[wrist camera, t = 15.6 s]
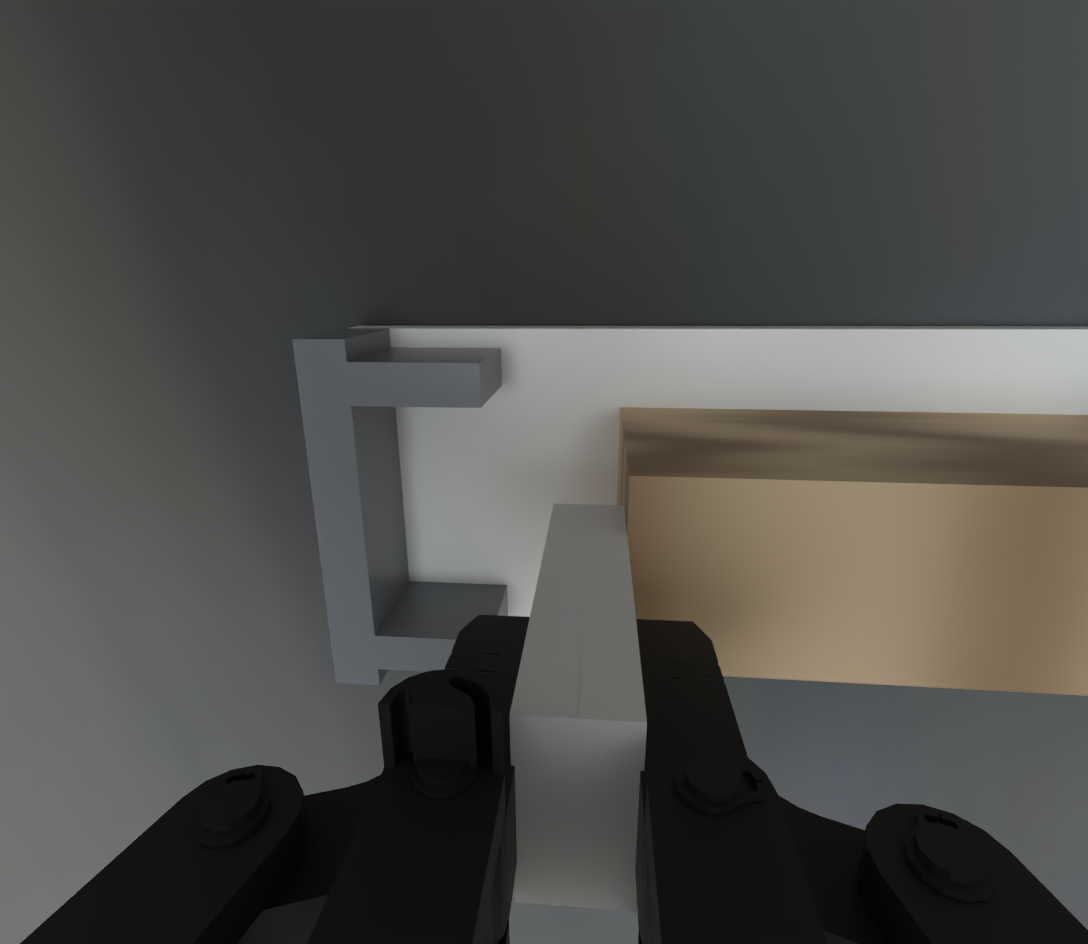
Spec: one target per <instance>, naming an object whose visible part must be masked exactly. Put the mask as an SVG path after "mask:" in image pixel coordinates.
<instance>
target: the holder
mask: <svg viewBox="0 0 1088 944" xmlns="http://www.w3.org/2000/svg"><path fill="white" fill-rule="evenodd" d="M292 342H293V349H294V357H295V365H296V373H297V381H298V389H299V397H300V405H301V412H302V420H303V428H304V436H305V444H306V452H307V460H308V468H309V475H310V483H311V491H312V499H313V507H314V515H315V523H316V530H317V538H318V546H319V554H320V562H321V570H322V578H323V586H324V593H325V601H326V609H327V617H328V625H329V633H330V641H331V649H332V656H333V664H334V672H335V680H336V683H345V684H364V685H380V684H381V682H382V680H383V678H384V676H385V675H386V673H387V671H388V670H404V671H424V672H428V671H431V670H444V669H445V666H446V664H447V661H448V659H449V656H450V655H451V651H452V649H453V646H454V644H455V641H456V639H457V636H458V634H459V631H460V630H461V629H463V628H464V627H465V626H466V625H467V624H468V623H469V622H471V621H472V620H473V619H474V618H475V617H476V616H478V615H500V616H523V617H530V614H531V609H532V604H533V600H534V595H535V590H536V585H537V581H538V576H539V571H540V566H541V561H542V557H543V552H544V547H545V542H546V537H547V533H548V528H549V523H550V518H551V513H552V509H553V504H554V503H556V504H593V505H617V482H618V455H619V427H620V407H639V408H700V409H761V410H822V411H882V412H943V413H1004V414H1065V415H1088V326H355V327H350V328H345V329H340V330H335V331H330V332H325V333H320V334H315V335H310V336H305V337H300V338H295V339H292Z"/></svg>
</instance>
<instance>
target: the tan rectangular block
mask: <svg viewBox="0 0 1088 944" xmlns="http://www.w3.org/2000/svg"><path fill="white" fill-rule="evenodd" d="M617 505H624V509H625V519H626V530H627V537H628V547H629V556H630V566H631V575H632V585H633V594H634V604H635V613H636V619H648V620H672V621H693V622H694V623H695V624H696V625H697V626H698V627H699V628H700V629H701V630H702V631H703V632H704V633H705V634H706V635H707V636H708V637H709V638H710V639H711V640H712V643H713V646H714V649H715V653H716V656H717V659H718V666H720V669H721V672H722V675H723V676H730V677H749V678H768V679H787V680H806V681H824V682H843V683H862V684H881V685H899V686H918V687H937V688H956V689H975V690H993V691H1012V692H1031V693H1050V694H1068V695H1087V696H1088V415H1065V414H1004V413H943V412H882V411H822V410H761V409H700V408H639V407H620V427H619V455H618V482H617Z"/></svg>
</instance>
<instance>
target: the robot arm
mask: <svg viewBox="0 0 1088 944" xmlns="http://www.w3.org/2000/svg"><path fill="white" fill-rule="evenodd" d="M378 709H379V719H380V729H381V738H382V748H383V758H384V770H383V772H382V774H381V775H380V776H377V777H375V778H373V779H371V780H369V781H367V782H364V783H360V784H357V785H354V786H350V787H346V788H341V789H336V790H331V791H326V792H321V793H316V794H311V795H306V796H304V794H303V790H302V788H301V786H300V784H299V782H298V780H297V778H296V776H294V775H293V774H291V773H289V772H287V771H286V770H284V769H282V768H280V767H273V766H263V765H255V766H250V767H244V768H239V769H233V770H230V771H228V772H226V773H223V774H221V775H219V776H217V777H214V778H212V779H210V780H207V781H205V782H204V783H203V784H201V785H200V786H198V787H197V788H195V789H194V790H193V791H191V792H190V793H188V794H187V795H186V796H184V797H183V798H182V799H180V800H179V801H178V802H177V803H176V804H175V805H174V806H173V807H172V808H170V809H169V810H168V811H167V812H166V813H165V814H164V815H163V816H162V817H160V818H159V819H158V820H157V821H156V822H155V823H154V824H153V825H152V826H150V827H149V828H148V829H147V830H146V831H145V832H144V833H143V834H142V835H140V836H139V837H138V838H137V839H136V840H135V841H134V842H133V843H132V844H130V845H129V846H128V847H127V848H126V849H125V850H124V851H123V852H121V853H120V854H119V855H118V856H117V857H116V858H115V859H114V860H113V861H111V862H110V863H109V864H108V865H107V866H106V867H105V868H104V869H103V870H101V871H100V872H99V873H98V874H97V875H96V876H95V877H94V878H93V879H91V880H90V881H89V882H88V883H87V884H86V885H85V886H84V887H83V888H81V889H80V890H79V891H78V892H77V893H76V894H75V895H74V896H73V897H71V898H70V899H69V900H68V901H67V902H66V903H65V904H64V905H63V906H61V907H60V908H59V909H58V910H57V911H56V912H55V913H54V914H52V915H51V916H50V917H49V918H48V919H47V920H46V921H45V922H44V923H42V924H41V925H40V926H39V927H38V928H37V929H36V930H35V931H34V932H32V933H31V934H30V935H29V936H28V937H27V938H26V939H25V940H24V941H22V942H21V943H20V944H510V942H509V915H510V908H511V901H512V894H513V887H514V902H519V903H531V904H543V905H555V906H568V907H578V908H591V909H603V910H615V911H628V912H637V908H638V925H639V936H638V944H1088V930H1087V929H1086V928H1085V927H1084V926H1083V925H1082V924H1081V923H1080V922H1079V921H1078V920H1077V919H1076V918H1075V917H1074V916H1073V915H1072V914H1071V913H1070V912H1069V911H1068V910H1067V909H1066V908H1065V907H1064V906H1063V905H1062V904H1061V903H1060V902H1059V901H1058V900H1057V899H1056V897H1055V896H1054V895H1053V894H1052V893H1051V892H1050V891H1049V890H1048V889H1047V888H1046V887H1045V886H1044V885H1043V884H1042V883H1041V882H1040V881H1039V880H1038V879H1037V878H1036V877H1035V876H1034V875H1033V874H1032V873H1031V872H1030V871H1029V870H1028V869H1027V868H1026V867H1025V866H1024V865H1023V864H1022V863H1021V862H1020V861H1019V860H1018V859H1017V858H1016V857H1015V856H1014V855H1013V854H1012V853H1011V852H1010V851H1009V850H1007V849H1006V848H1005V847H1004V846H1003V845H1001V844H1000V843H999V842H998V841H996V840H995V839H994V838H993V837H992V836H990V835H989V834H988V833H987V832H985V831H984V830H983V829H981V828H979V827H977V826H975V825H973V824H971V823H970V822H968V821H966V820H964V819H962V818H960V817H958V816H956V815H955V814H953V813H949V812H946V811H942V810H939V809H936V808H932V807H929V806H926V805H918V804H895V805H892V806H889V807H886V808H884V809H881V810H878V811H876V813H875V814H874V816H873V817H872V819H871V820H870V822H869V823H868V824H867V826H866V830H862V829H858V828H855V827H852V826H849V825H846V824H843V823H840V822H837V821H834V820H830V819H827V818H824V817H821V816H818V815H816V814H813V813H811V812H808V811H806V810H804V809H801V808H799V807H797V806H795V805H794V804H792V803H790V802H789V801H787V800H785V799H784V798H782V797H780V796H779V795H778V794H777V792H776V790H775V788H774V787H773V785H772V783H771V782H770V780H769V778H768V777H767V775H766V773H765V772H764V771H763V770H762V769H760V768H759V767H758V766H757V765H756V764H755V763H753V762H752V761H751V760H750V759H749V758H748V757H747V754H746V750H745V747H744V744H743V741H742V737H741V734H740V731H739V728H738V724H737V721H736V718H735V715H734V711H733V708H732V705H731V702H730V698H729V695H728V692H727V688H726V685H725V684H724V679H723V675H722V672H721V669H720V666H718V659H717V656H716V653H715V649H714V646H713V643H712V640H711V639H710V638H709V637H708V636H707V635H706V634H705V633H704V632H703V631H702V630H701V629H700V628H699V627H698V626H697V625H696V624H695V623H694V622H693V621H672V620H648V619H636V613H635V604H634V594H633V585H632V575H631V566H630V556H629V547H628V537H627V530H626V519H625V509H624V505H593V504H556V503H554V504H553V509H552V513H551V518H550V523H549V528H548V533H547V537H546V542H545V547H544V552H543V557H542V561H541V566H540V571H539V576H538V581H537V585H536V590H535V595H534V600H533V604H532V609H531V614H530V617H523V616H500V615H478V616H476V617H475V618H474V619H473V620H472V621H471V622H469V623H468V624H467V625H466V626H465V627H464V628H463V629H461V630H460V631H459V634H458V636H457V639H456V641H455V644H454V646H453V649H452V651H451V655H450V656H449V659H448V661H447V664H446V666H445V669H444V670H431V671H428V672H424V673H421V674H418V675H415V676H412V677H409V678H407V679H405V680H404V681H402V682H401V683H399V684H397V685H396V686H394V687H392V688H391V689H390V690H389V691H388V692H387V693H386V695H385V696H384V697H383V698H382V700H381V701H380V702H379V703H378Z"/></svg>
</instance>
